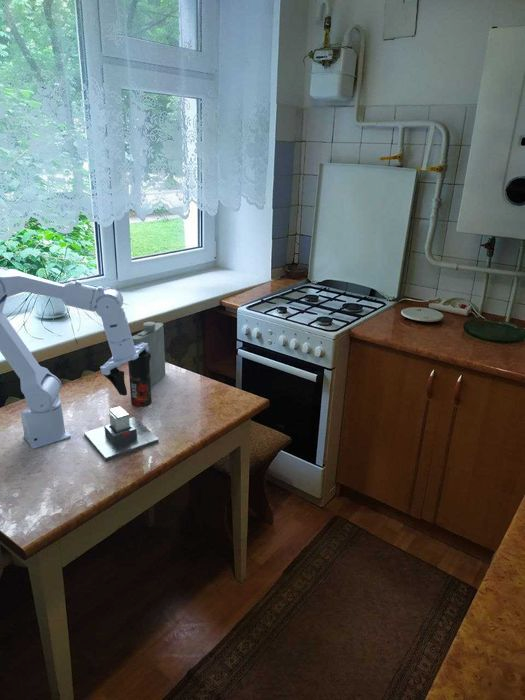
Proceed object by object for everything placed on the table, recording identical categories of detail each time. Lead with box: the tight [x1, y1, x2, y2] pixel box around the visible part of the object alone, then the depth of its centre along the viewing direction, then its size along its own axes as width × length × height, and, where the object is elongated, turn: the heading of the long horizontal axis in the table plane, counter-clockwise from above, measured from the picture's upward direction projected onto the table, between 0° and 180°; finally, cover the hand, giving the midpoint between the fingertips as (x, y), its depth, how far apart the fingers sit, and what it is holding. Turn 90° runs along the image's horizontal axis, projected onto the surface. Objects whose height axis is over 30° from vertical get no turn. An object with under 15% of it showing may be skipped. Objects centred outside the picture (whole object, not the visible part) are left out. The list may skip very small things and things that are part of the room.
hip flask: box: [132, 321, 167, 388], centre depth 155 cm, size 16×4×20 cm, turn 161°
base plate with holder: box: [83, 416, 160, 462], centre depth 127 cm, size 14×14×4 cm
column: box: [108, 406, 130, 434], centre depth 126 cm, size 4×5×7 cm
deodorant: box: [127, 360, 153, 409], centre depth 143 cm, size 6×6×15 cm
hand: (134, 387), depth 126 cm, fingers open, 7 cm apart
